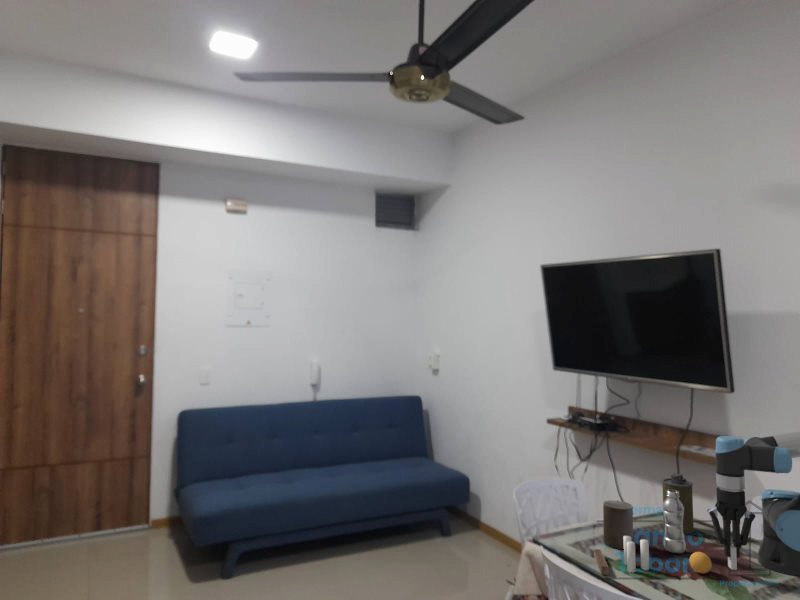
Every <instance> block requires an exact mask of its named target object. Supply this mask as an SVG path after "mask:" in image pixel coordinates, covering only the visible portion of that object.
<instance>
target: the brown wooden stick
mask: <svg viewBox="0 0 800 600" xmlns="http://www.w3.org/2000/svg"><path fill="white" fill-rule="evenodd" d="M593 550H594V551H593V553H594V554H593V555H594V556H595V557H594V556H593V557H594V560H595V559H596V560H595V562H596V564H598V565H597V566H598V570H599V569H600V570H599V571H600V574H602V575H601V576H609V565H608V563H607V561H606V558H605V556H604V554H603V552H602V550H601V549H600V548H599V549H597V548H594V549H593Z"/></svg>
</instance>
